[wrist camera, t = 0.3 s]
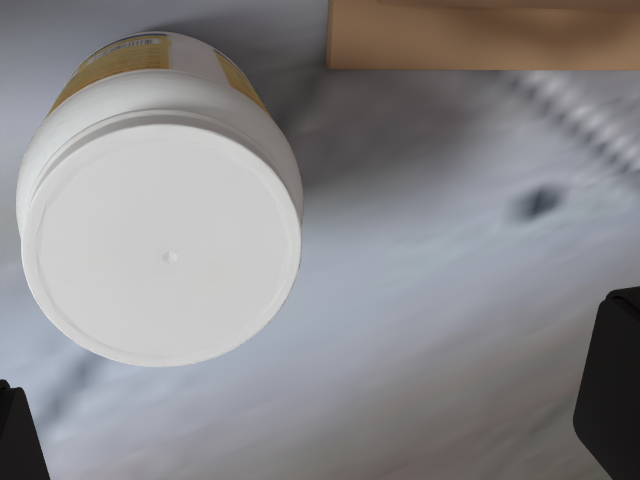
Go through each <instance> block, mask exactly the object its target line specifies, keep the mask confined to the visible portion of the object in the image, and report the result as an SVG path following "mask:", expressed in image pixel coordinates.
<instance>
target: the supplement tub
mask: <svg viewBox="0 0 640 480" xmlns="http://www.w3.org/2000/svg"><path fill="white" fill-rule="evenodd" d="M303 209H304V200H303V188H302V182H301V177H300V172H299V168H298V165H297V161H296V159H295V156H294V153H293V151H292V149H291V147H290V145H289V143H288V141H287V139H286V138H285V136H284V134H283V133H282V131H281V130H280V128H279V127H278V126H277V125H276V123H275V122H274V120H273V119H272V117H271V115H270V114H269V112H268V111H267V109H266V108H265V106H264V104H263V103H262V101H261V100H260V98H259V97H258V95H257V93H256V92H255V90H254V88H253V86H252V85H251V83H250V82H249V80H248V79H247V77H246V76H245V75H244V73H243V72H242V71H241V70H240V69H239V68H238V66H237V65H236V64H235V63H234V62H232V61H231V60H230V59H229V58H228V57H227V56H225V55H224V54H223V53H221V52H220V51H219V50H217V49H216V48H214V47H212V46H210V45H208V44H206V43H204V42H202V41H200V40H198V39H195V38H192V37H189V36H185V35H182V34H177V33H171V32H159V31H152V32H140V33H134V34H130V35H126V36H123V37H120V38H117V39H115V40H112V41H110V42H108V43H106V44H104V45H102V46H101V47H99V48H98V49H96V50H95V51H93V52H92V53H91V54H89V55H88V56H87V57H86V58H85V59H84V60H83V61H82V62H81V63H80V64H79V65H78V66H77V67H76V68H75V70H74V71H73V72H72V73H71V75H70V77H69V78H68V80H67V82H66V83H65V85H64V87H63V89H62V91H61V93H60V95H59V97H58V98H57V100H56V101H55V103H54V105H53V107H52V108H51V110H50V112H49V113H48V115H47V117H46V118H45V120H44V121H43V123H42V124H41V125H40V127H39V128H38V130H37V131H36V133H35V134H34V136H33V138H32V139H31V141H30V143H29V145H28V147H27V149H26V152H25V155H24V157H23V160H22V164H21V168H20V172H19V177H18V183H17V192H16V214H17V222H18V228H19V233H20V236H21V253H22V263H23V268H24V273H25V276H26V279H27V282H28V285H29V288H30V290H31V292H32V294H33V296H34V298H35V300H36V302H37V303H38V305H39V306H40V308H41V309H42V311H43V312H44V313H45V315H46V316H47V317H48V318H49V319H50V321H51V322H52V323H53V324H54V325H55V326H56V327H57V328H58V329H59V330H60V331H62V332H63V333H64V334H65V335H66V336H68V337H69V338H71V339H72V340H73V341H75V342H76V343H77V344H79V345H81V346H83V347H84V348H86V349H88V350H90V351H91V352H94V353H96V354H98V355H101V356H103V357H106V358H109V359H111V360H115V361H118V362H122V363H126V364H132V365H138V366H148V367H170V366H181V365H188V364H192V363H198V362H202V361H205V360H209V359H212V358H214V357H217V356H220V355H222V354H224V353H226V352H228V351H230V350H232V349H234V348H236V347H238V346H239V345H241V344H243V343H245V342H246V341H247V340H249V339H250V338H252V337H253V336H254V335H256V334H257V333H258V332H259V331H260V330H262V329H263V328H264V327H265V326H266V325H267V324H268V323H269V322H270V321H271V320H272V319H273V318H274V316H275V315H276V314H277V313H278V311H279V310H280V309H281V307H282V306H283V304H284V303H285V301H286V299H287V298H288V296H289V294H290V292H291V290H292V288H293V285H294V283H295V280H296V277H297V274H298V271H299V267H300V261H301V255H302V234H301V227H302V220H303Z"/></svg>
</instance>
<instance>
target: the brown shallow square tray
mask: <svg viewBox="0 0 640 480" xmlns="http://www.w3.org/2000/svg"><path fill="white" fill-rule="evenodd" d="M326 67H328V68H329V69H330V70H640V0H329V7H328V28H327V48H326Z"/></svg>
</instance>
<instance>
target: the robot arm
mask: <svg viewBox="0 0 640 480" xmlns="http://www.w3.org/2000/svg"><path fill="white" fill-rule="evenodd" d="M573 426H574V429H575V432H576V434H577V436H578V438H579V439H580V441H581V442H582V443H583V444H584V445H585V447H586V448H587V449H588V450H589V451H590V453H591V454H592V455H593V456H594V457H595V459H596V460H597V461H598V462H599V463H600V465H601V466H602V467H603V468H604V469H605V471H606V472H607V473H608V474H609V475H610V477H611V478H612V479H613V480H640V286H638V287H631V288H625V289H618V290H613V291H611V292H610V293H609V294H608V295H607V296H606V299H605V300H604V301H602V302H601V303H600V305H599V308H598V312H597V316H596V320H595V325H594V329H593V333H592V338H591V342H590V346H589V351H588V355H587V359H586V364H585V368H584V372H583V377H582V381H581V385H580V389H579V394H578V398H577V402H576V407H575V411H574V415H573ZM0 480H50V477H49V473H48V470H47V467H46V463H45V460H44V456H43V453H42V450H41V446H40V443H39V439H38V436H37V432H36V429H35V426H34V422H33V419H32V415H31V412H30V409H29V405H28V402H27V398H26V395H25V392H24V390H23V389H22V388H21V387H17V388H10V385H9V383H8V382H7V381H6V380H4V379H1V380H0Z"/></svg>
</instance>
